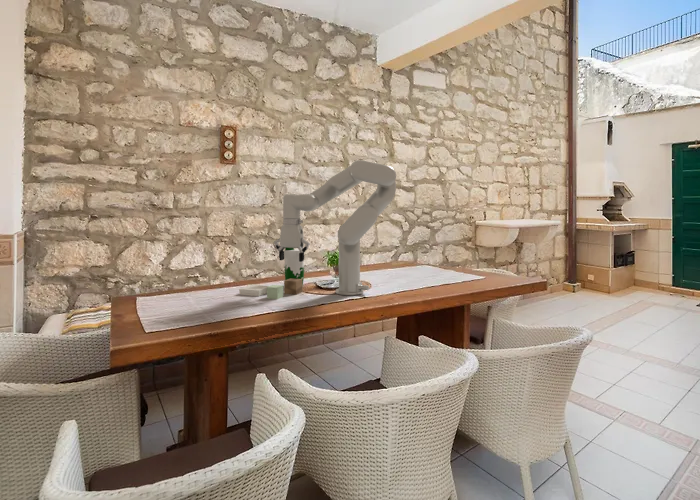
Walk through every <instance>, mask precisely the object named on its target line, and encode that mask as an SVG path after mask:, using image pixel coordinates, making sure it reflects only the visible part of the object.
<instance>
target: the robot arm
mask: <svg viewBox="0 0 700 500" xmlns="http://www.w3.org/2000/svg"><path fill="white" fill-rule="evenodd" d="M396 179H397V172H396V170H395V169H394V168H393V167H392V166H390V165H386V164H383V163H377V162H371V161H367V160H363V159H358V160H355V161H353V162H352V163H351V165H349V166H347V167H346V168H345V169H343V170H342V171H339V172H338V173H336V174H334V175H333V176H331V177H330V178H329V179H328V180H327V181H326V182H325V183H324V184H323V185H321V186H320V187H319V188H317V189H315V190H314V191H312V192H310V193H304V194H293V193H287V194H283V197H282V215H283V216H282V225H281V228H280V234H279V235H280V236H279V238H278V239H276V240H274V241H273V244H274V246H275V249H276V250H277V251H278V258H279V261H285V256H284V251H285V248H294V249H299V251H300V253H299V262H302V261H304V262H305V253H306V251H307V250H308V249H309V246H310V244H311V243H310V242H309V241H307V240H306V239H305V238H304V236H305V235H304V229H303V226H302V225H301V224H303V223H304V221H303V219H302V218H301V211H303V212H313V211H315V210H317V209H319V208H320V207H322V206H323V205H325V204H327V203H329V202H330V201H332V200H334V199H336V198H337V197H339V196H341V195H343V194H344V193H346V192H348V191H349V190H351V189H353V188H354V187H356V186H358V185H359V184H360V183H362V182H365V183H370V184H374V185H376V186H377V187H376V189H375V191H373V193H372V194H371V195H370V196H369V197H368V199H367V200H366V201H364V203H363V204H361V205H360V206H358V208H357V209H356V210H354V212H353V213H352V214H350V216H349V217H348V219H346V221H345V222H343V224H341V225H340V227H339V228H338V231H337V238H338V288H336V289H335V294H337V295H341V296H358V295H362V294H364V291H369V290H370V286H369V285H366V284H365V285H364V284H363V282H361V239H362V238H363V236H365V234H367V233H368V232H369V230H370V229H372V227H373V226H375V223H377V220H378V217H380V215H381V214H382V213H383V212H384V211H385V210H386V208H387V207H388V206H389V205H390V204H391V202H392V201H393V200H394V197H395V195H396V191H397V182H396Z"/></svg>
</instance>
